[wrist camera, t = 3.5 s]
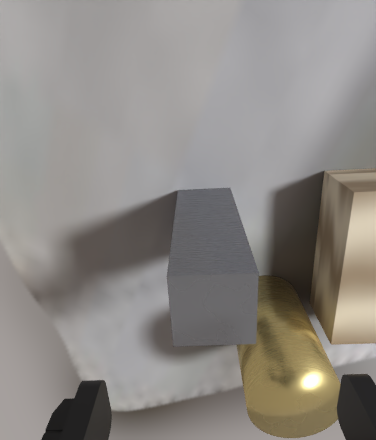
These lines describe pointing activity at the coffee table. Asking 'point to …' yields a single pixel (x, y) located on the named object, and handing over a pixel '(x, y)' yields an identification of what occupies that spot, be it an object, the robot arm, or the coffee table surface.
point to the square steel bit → (211, 272)
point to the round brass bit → (287, 367)
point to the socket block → (346, 257)
